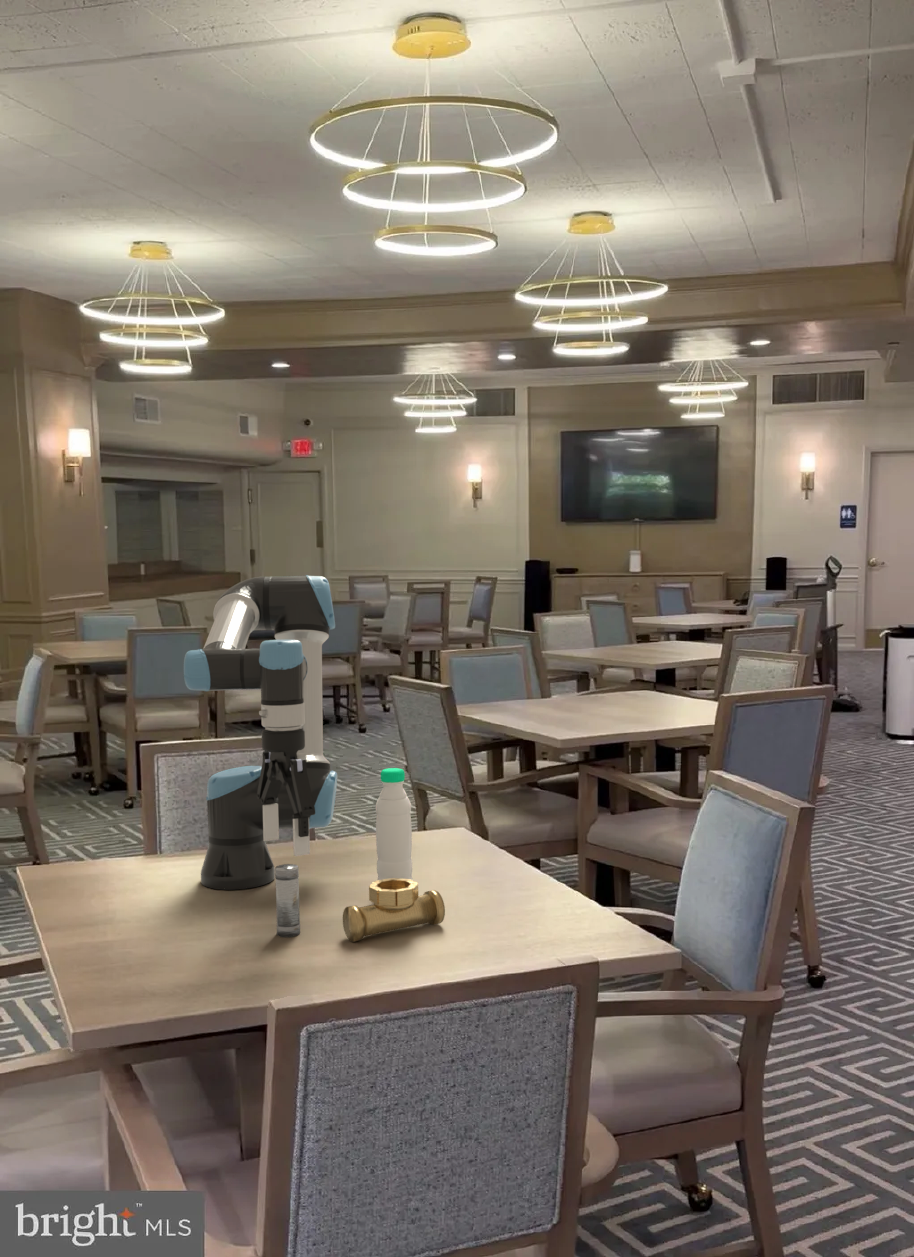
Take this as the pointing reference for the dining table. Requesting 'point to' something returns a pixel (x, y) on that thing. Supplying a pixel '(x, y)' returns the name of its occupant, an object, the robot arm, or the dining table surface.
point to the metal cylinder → (287, 900)
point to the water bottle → (393, 827)
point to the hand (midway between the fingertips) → (286, 847)
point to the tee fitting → (393, 909)
